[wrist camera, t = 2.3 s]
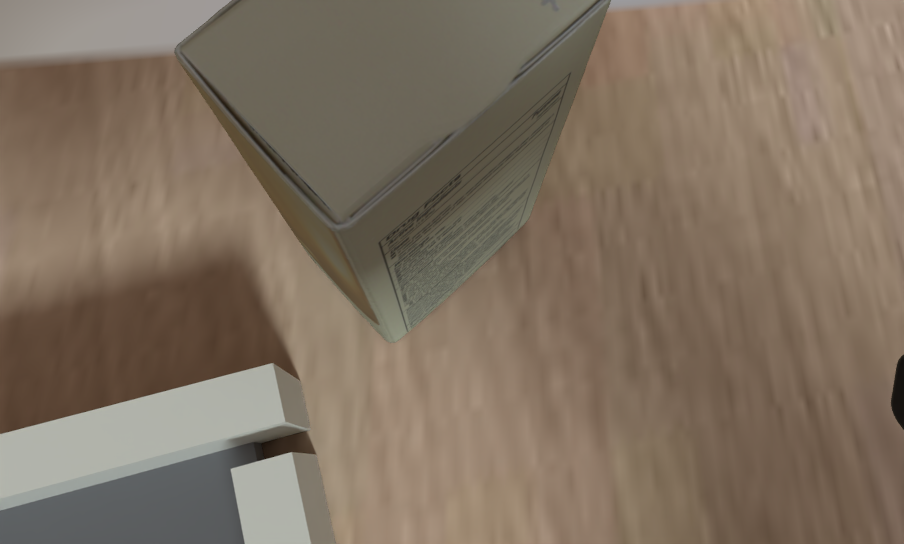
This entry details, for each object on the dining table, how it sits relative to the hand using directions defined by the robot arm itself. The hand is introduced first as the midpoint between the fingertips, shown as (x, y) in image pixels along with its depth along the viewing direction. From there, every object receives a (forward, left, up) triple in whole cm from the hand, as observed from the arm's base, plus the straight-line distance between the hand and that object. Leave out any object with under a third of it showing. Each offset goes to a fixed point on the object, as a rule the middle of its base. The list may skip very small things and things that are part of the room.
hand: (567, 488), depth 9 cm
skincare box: (0, -8, -13) cm, 16 cm away
